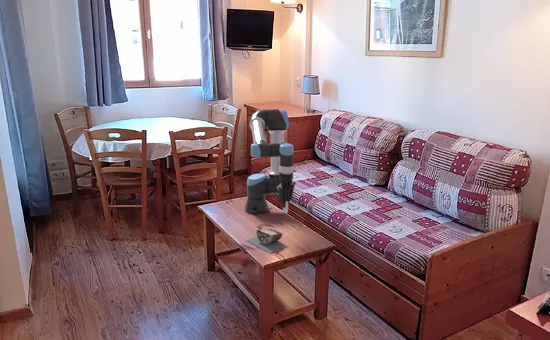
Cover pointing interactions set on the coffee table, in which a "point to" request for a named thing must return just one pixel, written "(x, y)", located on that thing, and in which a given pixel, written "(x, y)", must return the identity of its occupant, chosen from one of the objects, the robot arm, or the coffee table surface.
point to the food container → (268, 235)
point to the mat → (266, 245)
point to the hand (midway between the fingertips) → (285, 212)
